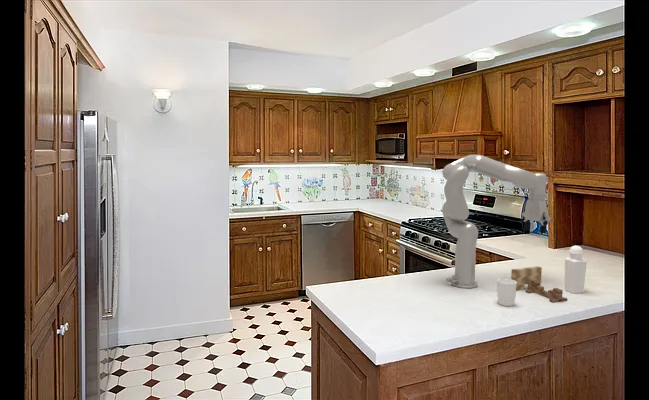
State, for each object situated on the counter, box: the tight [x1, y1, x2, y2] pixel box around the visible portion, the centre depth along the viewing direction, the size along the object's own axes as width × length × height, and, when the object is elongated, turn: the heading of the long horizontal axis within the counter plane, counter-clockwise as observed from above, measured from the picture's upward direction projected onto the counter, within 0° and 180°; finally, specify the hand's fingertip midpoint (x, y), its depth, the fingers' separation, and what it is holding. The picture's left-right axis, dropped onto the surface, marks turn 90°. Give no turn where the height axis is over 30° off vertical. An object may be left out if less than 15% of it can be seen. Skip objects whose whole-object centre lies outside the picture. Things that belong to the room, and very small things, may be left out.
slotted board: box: [510, 266, 543, 292], centre depth 211 cm, size 16×2×10 cm, turn 109°
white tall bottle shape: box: [564, 245, 588, 294], centre depth 206 cm, size 6×6×22 cm
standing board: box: [525, 280, 568, 304], centre depth 200 cm, size 16×8×5 cm, turn 19°
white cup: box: [496, 278, 517, 307], centre depth 190 cm, size 8×8×10 cm
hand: (535, 231), depth 221 cm, fingers open, 9 cm apart
